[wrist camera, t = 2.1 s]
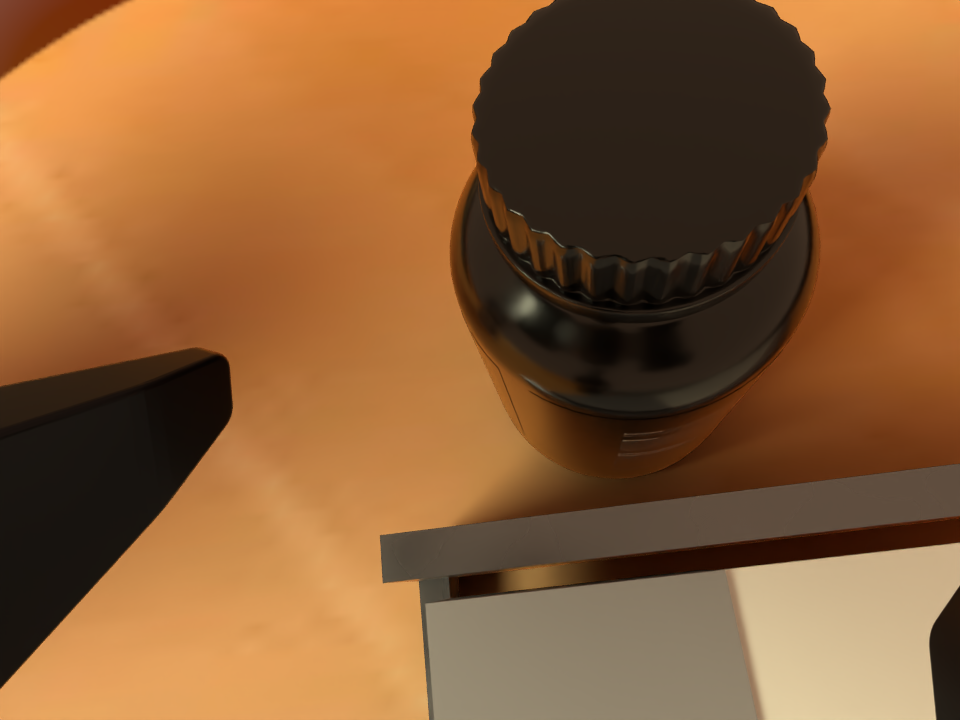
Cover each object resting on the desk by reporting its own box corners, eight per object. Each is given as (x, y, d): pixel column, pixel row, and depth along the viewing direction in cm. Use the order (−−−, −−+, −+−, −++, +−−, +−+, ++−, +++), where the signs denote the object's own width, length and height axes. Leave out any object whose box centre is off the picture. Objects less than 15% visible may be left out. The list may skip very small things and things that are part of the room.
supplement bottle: (733, 279, 20) (930, -85, 9) (715, 500, 19) (939, 387, 7) (514, 257, 22) (451, -88, 10) (478, 461, 20) (349, 313, 8)
